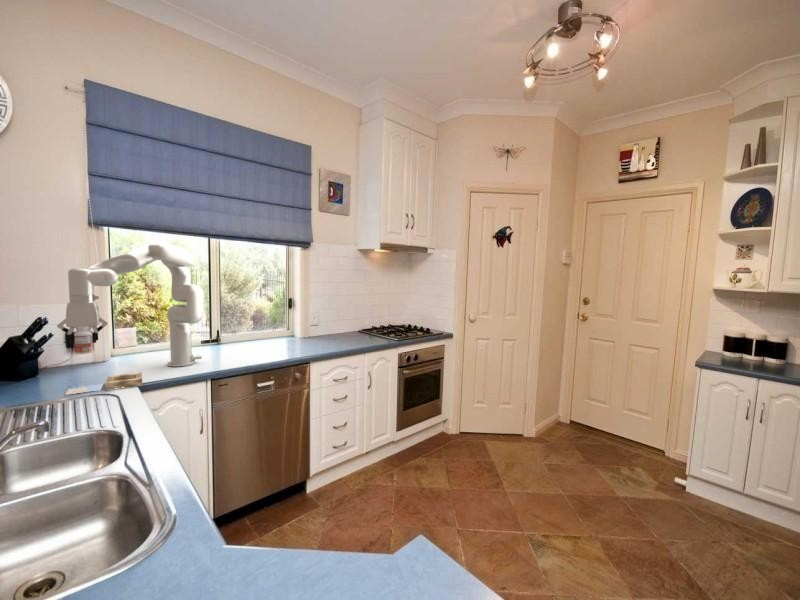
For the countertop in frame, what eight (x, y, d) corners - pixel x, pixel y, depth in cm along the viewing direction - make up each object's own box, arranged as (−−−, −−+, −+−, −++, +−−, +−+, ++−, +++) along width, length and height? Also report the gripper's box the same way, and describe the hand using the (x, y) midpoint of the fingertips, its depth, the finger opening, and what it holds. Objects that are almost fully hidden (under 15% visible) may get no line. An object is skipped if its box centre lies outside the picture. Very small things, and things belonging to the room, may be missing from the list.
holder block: (142, 378, 165) (141, 372, 164) (142, 385, 155) (141, 378, 155) (108, 382, 158) (108, 376, 157) (106, 390, 148) (105, 383, 148)
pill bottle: (81, 351, 150) (81, 324, 150) (97, 351, 151) (97, 324, 150) (69, 354, 144) (69, 326, 144) (86, 354, 145) (85, 327, 144)
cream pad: (103, 383, 156) (103, 382, 156) (101, 390, 147) (101, 389, 147) (69, 388, 150) (69, 387, 150) (65, 395, 141) (65, 394, 141)
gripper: (110, 298, 154) (111, 339, 155) (54, 299, 144) (56, 343, 145) (108, 299, 148) (110, 342, 149) (50, 300, 138) (53, 346, 139)
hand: (84, 342), depth 147 cm, fingers closed on pill bottle, 6 cm apart
